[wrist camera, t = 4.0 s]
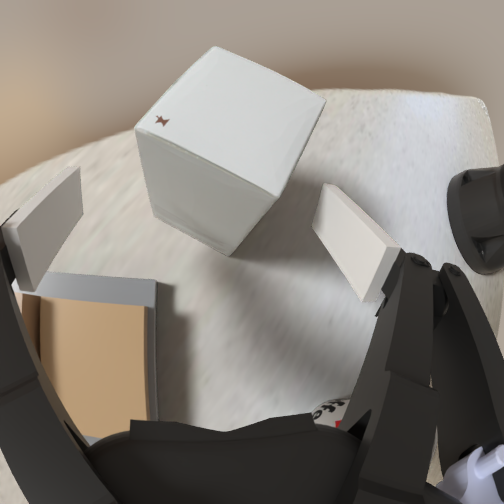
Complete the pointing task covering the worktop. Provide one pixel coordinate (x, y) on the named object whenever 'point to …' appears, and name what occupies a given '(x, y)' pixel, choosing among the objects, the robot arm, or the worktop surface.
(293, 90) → the supplement box
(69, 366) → the build base
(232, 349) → the worktop surface
